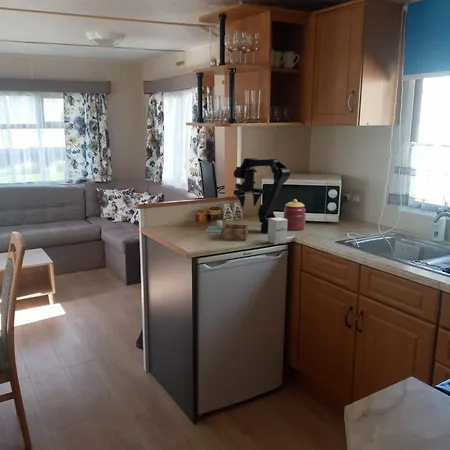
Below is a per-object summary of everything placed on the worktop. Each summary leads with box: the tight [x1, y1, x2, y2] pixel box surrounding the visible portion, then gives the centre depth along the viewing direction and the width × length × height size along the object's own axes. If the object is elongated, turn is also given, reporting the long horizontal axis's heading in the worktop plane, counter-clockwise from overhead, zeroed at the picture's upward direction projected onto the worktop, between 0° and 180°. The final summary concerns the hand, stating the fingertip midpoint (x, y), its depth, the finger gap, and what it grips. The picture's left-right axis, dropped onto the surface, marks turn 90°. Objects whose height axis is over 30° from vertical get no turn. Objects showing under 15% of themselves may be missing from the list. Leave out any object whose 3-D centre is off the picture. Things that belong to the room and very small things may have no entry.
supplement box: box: [267, 217, 288, 245], centre depth 247 cm, size 7×7×13 cm
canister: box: [283, 198, 307, 232], centre depth 280 cm, size 13×13×18 cm
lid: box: [204, 219, 223, 234], centre depth 275 cm, size 15×15×6 cm
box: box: [220, 223, 249, 242], centre depth 256 cm, size 13×13×6 cm
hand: (248, 206), depth 279 cm, fingers open, 9 cm apart
